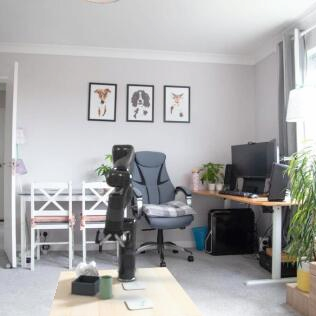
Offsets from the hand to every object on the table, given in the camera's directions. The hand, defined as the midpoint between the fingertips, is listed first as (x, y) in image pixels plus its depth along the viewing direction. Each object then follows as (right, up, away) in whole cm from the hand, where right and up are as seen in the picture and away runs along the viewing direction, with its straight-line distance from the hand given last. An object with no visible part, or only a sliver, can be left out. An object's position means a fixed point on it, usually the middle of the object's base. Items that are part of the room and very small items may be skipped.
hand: (110, 253), depth 148 cm
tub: (-14, -24, +21) cm, 35 cm away
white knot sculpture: (-17, -25, +38) cm, 49 cm away
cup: (-4, -24, +15) cm, 29 cm away
